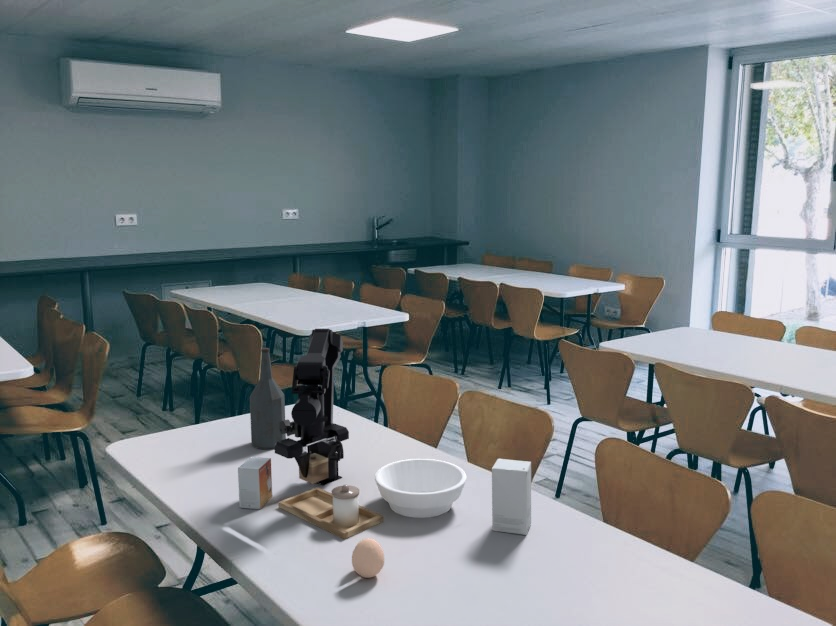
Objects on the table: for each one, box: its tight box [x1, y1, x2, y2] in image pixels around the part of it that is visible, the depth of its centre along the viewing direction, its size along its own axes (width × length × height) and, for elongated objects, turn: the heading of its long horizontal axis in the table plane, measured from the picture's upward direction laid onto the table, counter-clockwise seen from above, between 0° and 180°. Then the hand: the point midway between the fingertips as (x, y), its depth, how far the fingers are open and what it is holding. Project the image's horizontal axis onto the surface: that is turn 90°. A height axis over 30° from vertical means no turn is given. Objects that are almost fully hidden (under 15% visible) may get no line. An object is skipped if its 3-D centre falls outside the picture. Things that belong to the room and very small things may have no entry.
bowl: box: [374, 458, 467, 519], centre depth 181 cm, size 22×22×8 cm
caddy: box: [278, 486, 384, 540], centre depth 176 cm, size 12×24×2 cm, turn 47°
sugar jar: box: [331, 484, 360, 527], centre depth 171 cm, size 6×6×9 cm
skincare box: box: [491, 458, 532, 536], centre depth 169 cm, size 8×7×16 cm
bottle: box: [249, 347, 287, 450], centre depth 223 cm, size 10×10×30 cm
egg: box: [351, 537, 385, 579], centre depth 149 cm, size 7×7×8 cm
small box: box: [237, 456, 273, 510], centre depth 183 cm, size 8×6×10 cm
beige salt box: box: [298, 453, 329, 485], centre depth 178 cm, size 5×5×5 cm
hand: (313, 474), depth 178 cm, fingers closed on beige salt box, 5 cm apart
